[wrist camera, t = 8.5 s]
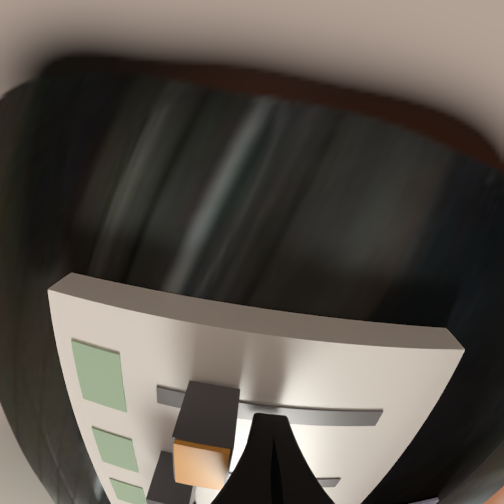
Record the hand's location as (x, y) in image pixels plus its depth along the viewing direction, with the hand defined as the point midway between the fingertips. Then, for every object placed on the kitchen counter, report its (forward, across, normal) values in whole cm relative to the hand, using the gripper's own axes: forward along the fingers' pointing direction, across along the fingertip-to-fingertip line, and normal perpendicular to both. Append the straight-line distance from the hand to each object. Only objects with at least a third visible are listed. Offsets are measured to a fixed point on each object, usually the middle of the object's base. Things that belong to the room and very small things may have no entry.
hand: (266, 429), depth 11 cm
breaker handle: (+1, +2, 0) cm, 2 cm away
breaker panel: (+3, +1, +6) cm, 7 cm away
